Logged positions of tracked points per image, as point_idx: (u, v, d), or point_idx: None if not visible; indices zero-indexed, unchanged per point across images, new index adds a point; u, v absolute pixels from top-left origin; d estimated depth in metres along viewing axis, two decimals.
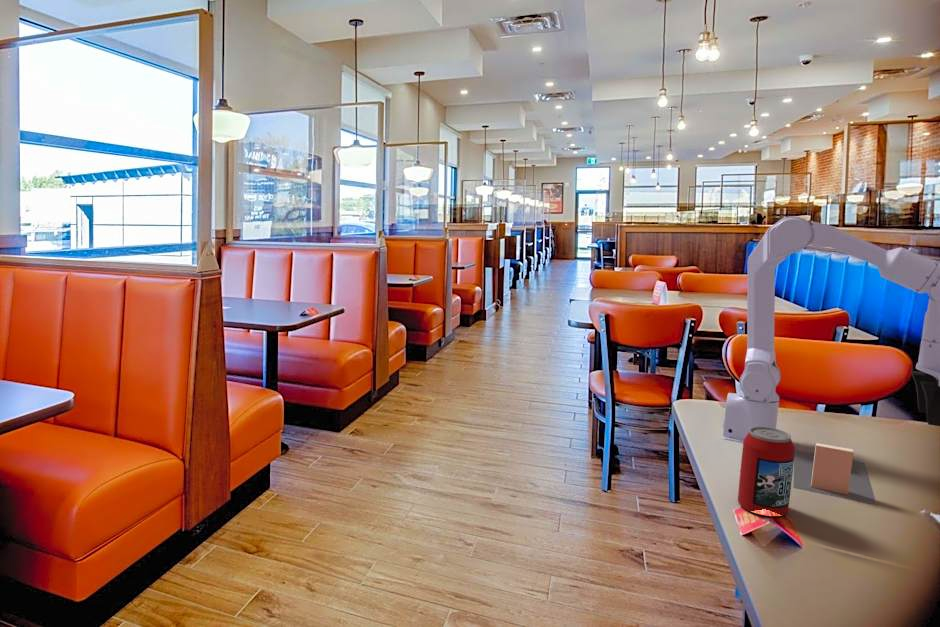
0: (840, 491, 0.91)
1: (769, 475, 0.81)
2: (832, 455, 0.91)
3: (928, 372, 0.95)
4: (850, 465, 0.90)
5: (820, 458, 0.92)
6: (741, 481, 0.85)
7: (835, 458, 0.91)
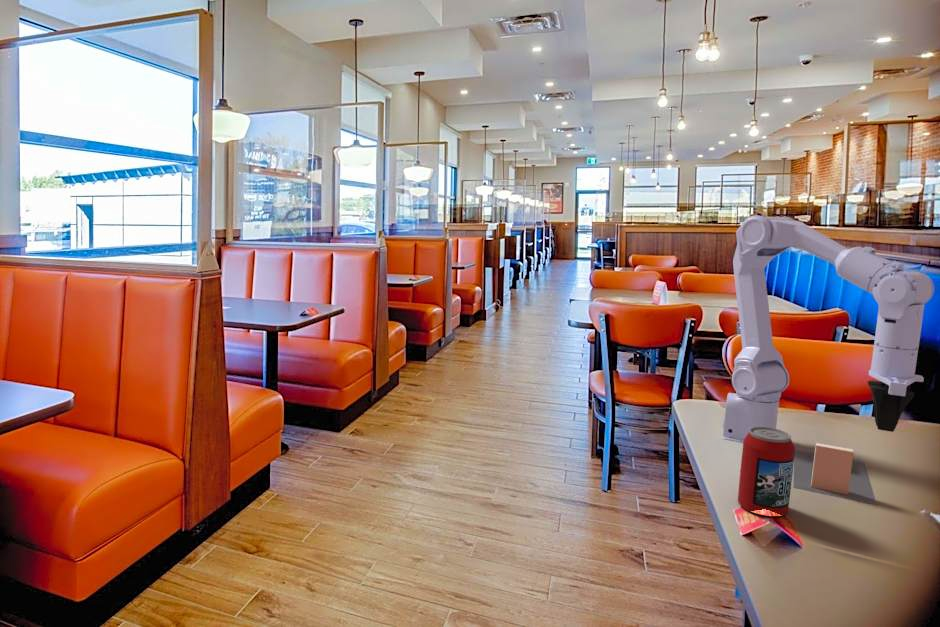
0: (840, 491, 0.91)
1: (769, 475, 0.81)
2: (832, 455, 0.91)
3: (879, 379, 0.90)
4: (850, 465, 0.90)
5: (820, 458, 0.92)
6: (741, 481, 0.85)
7: (835, 458, 0.91)
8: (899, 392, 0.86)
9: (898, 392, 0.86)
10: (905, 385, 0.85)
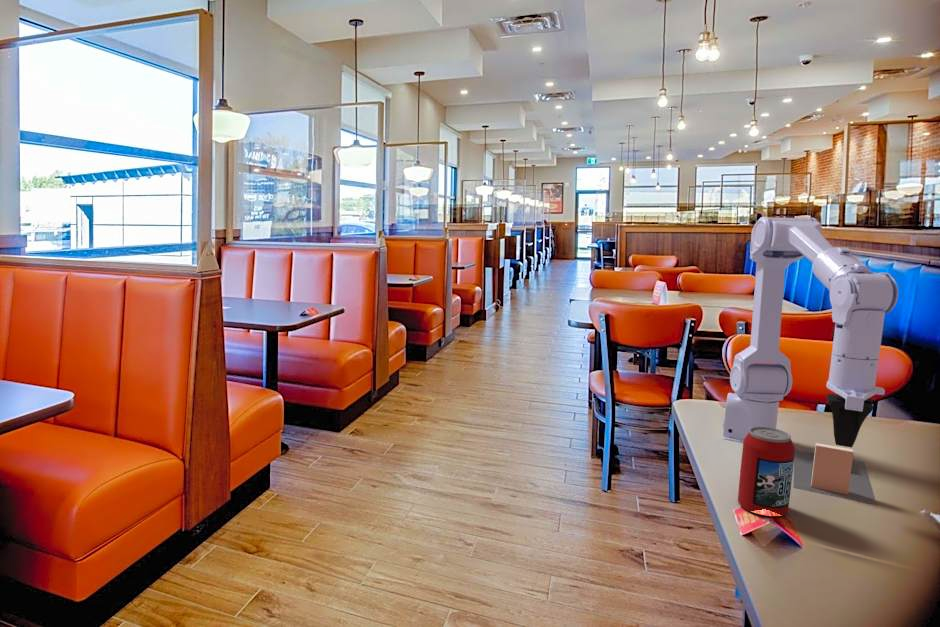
0: (840, 491, 0.91)
1: (769, 475, 0.81)
2: (832, 455, 0.91)
3: (836, 392, 0.82)
4: (850, 465, 0.90)
5: (820, 458, 0.92)
6: (741, 481, 0.85)
7: (835, 458, 0.91)
8: (856, 407, 0.78)
9: (855, 407, 0.78)
10: (862, 399, 0.78)
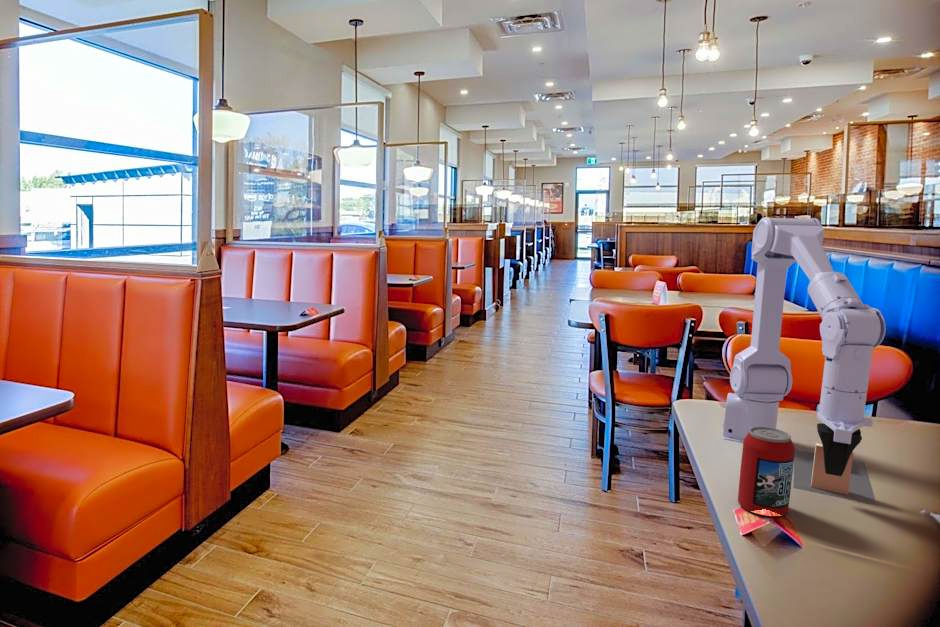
0: (840, 491, 0.91)
1: (769, 475, 0.81)
2: None
3: (826, 423, 0.85)
4: (850, 465, 0.90)
5: (820, 458, 0.92)
6: (741, 481, 0.85)
7: None
8: (845, 439, 0.81)
9: (843, 439, 0.81)
10: (850, 432, 0.80)
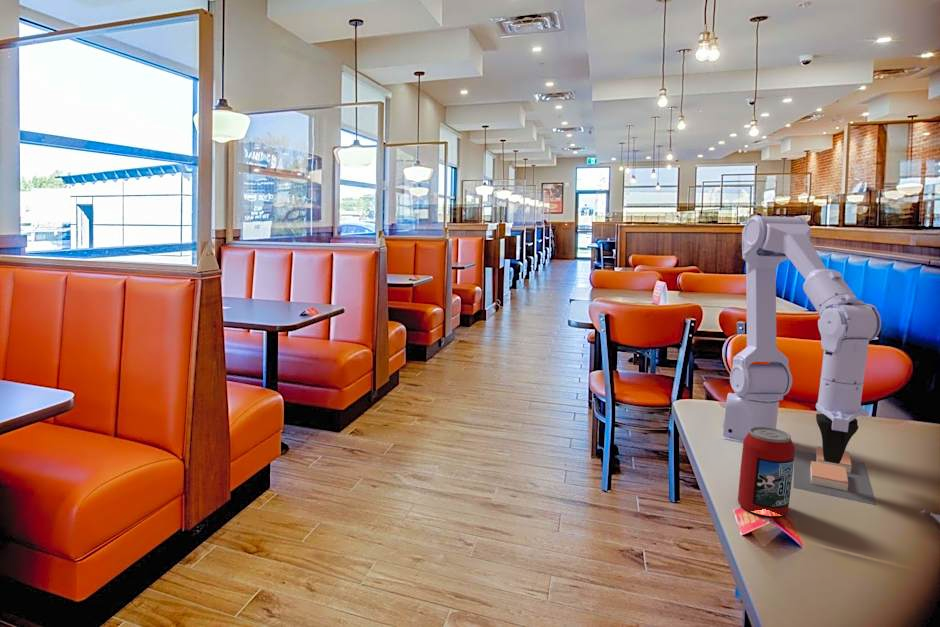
0: (840, 480, 0.92)
1: (769, 475, 0.81)
2: (827, 466, 0.98)
3: (824, 413, 0.89)
4: (845, 471, 0.96)
5: (816, 465, 0.98)
6: (741, 481, 0.85)
7: (830, 467, 0.97)
8: (842, 428, 0.85)
9: (840, 428, 0.85)
10: (847, 421, 0.85)
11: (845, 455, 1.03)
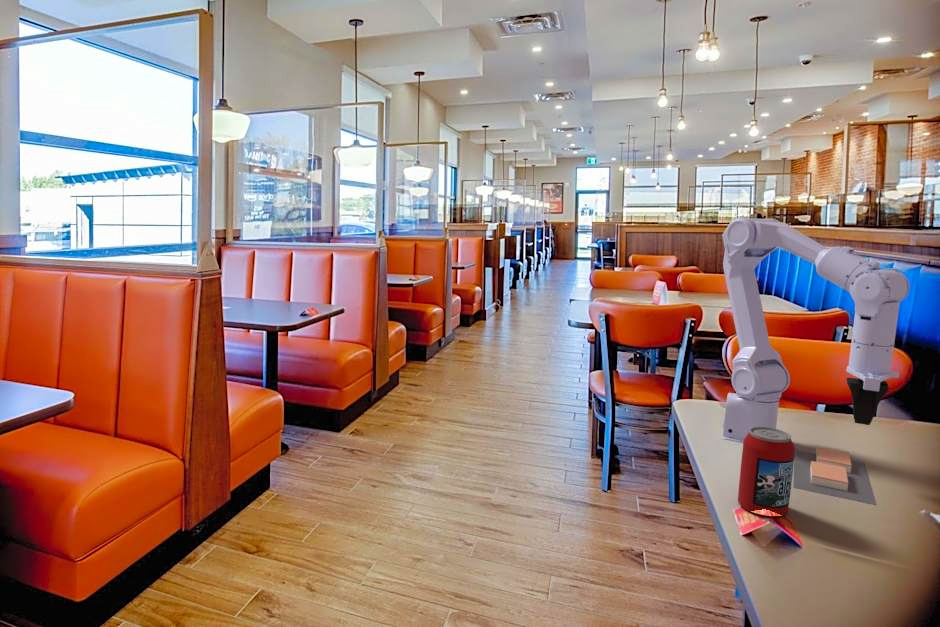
0: (840, 480, 0.92)
1: (769, 475, 0.81)
2: (827, 466, 0.98)
3: (855, 375, 0.92)
4: (845, 471, 0.96)
5: (816, 465, 0.98)
6: (741, 481, 0.85)
7: (830, 467, 0.97)
8: (873, 387, 0.88)
9: (872, 387, 0.88)
10: (879, 380, 0.88)
11: (845, 455, 1.03)
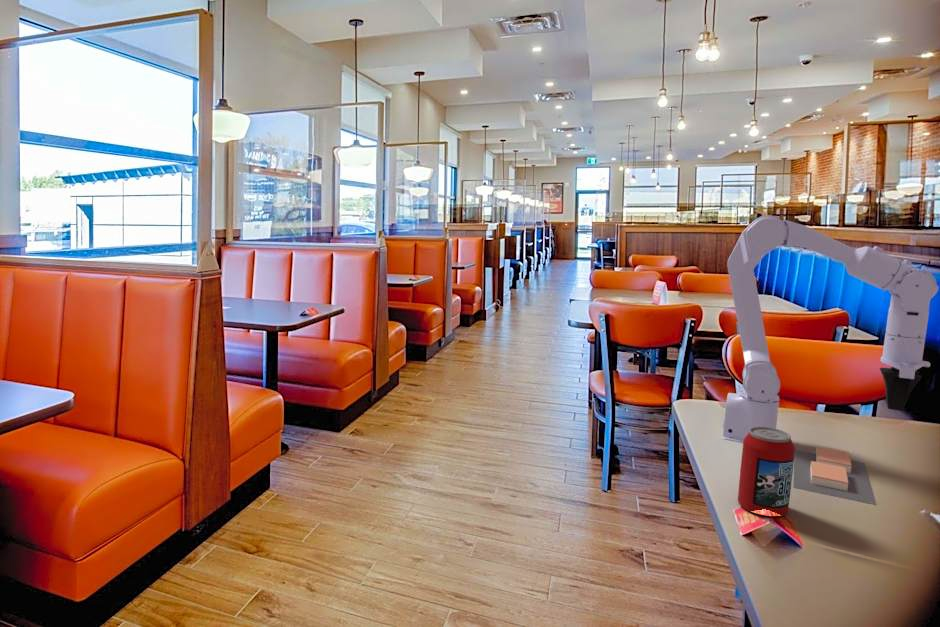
0: (840, 480, 0.92)
1: (768, 475, 0.81)
2: (827, 466, 0.98)
3: (890, 364, 1.01)
4: (845, 471, 0.96)
5: (816, 465, 0.98)
6: (741, 481, 0.85)
7: (830, 467, 0.97)
8: (909, 375, 0.97)
9: (908, 375, 0.97)
10: (914, 369, 0.96)
11: (845, 455, 1.03)
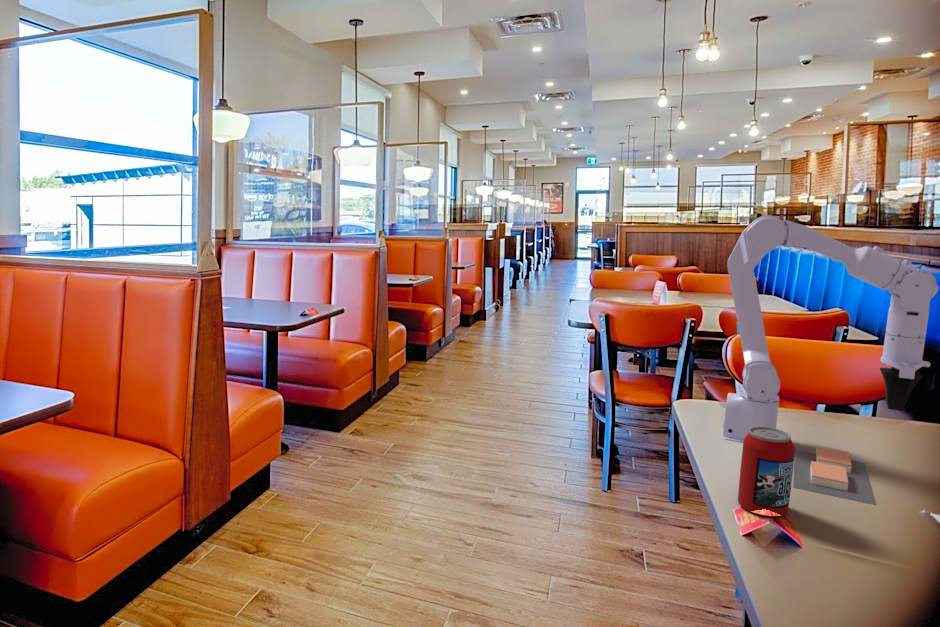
0: (840, 480, 0.92)
1: (768, 475, 0.81)
2: (827, 466, 0.98)
3: (890, 364, 1.01)
4: (845, 471, 0.96)
5: (816, 465, 0.98)
6: (741, 481, 0.85)
7: (830, 467, 0.97)
8: (909, 375, 0.97)
9: (908, 375, 0.97)
10: (914, 369, 0.96)
11: (845, 455, 1.03)
